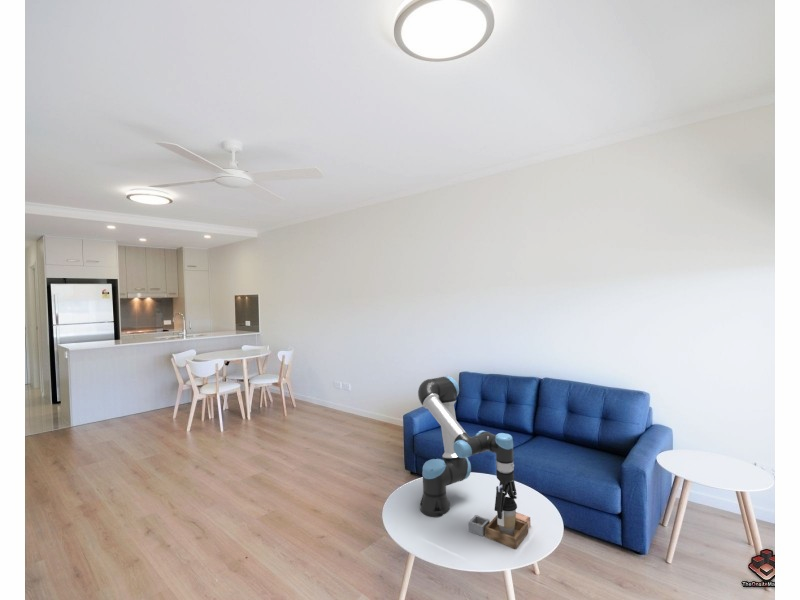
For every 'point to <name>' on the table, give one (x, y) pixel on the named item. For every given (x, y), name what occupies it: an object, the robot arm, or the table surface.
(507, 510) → the coffee cup
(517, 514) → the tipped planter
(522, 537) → the walnut box
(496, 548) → the table surface
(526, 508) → the table surface
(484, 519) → the grey tub
